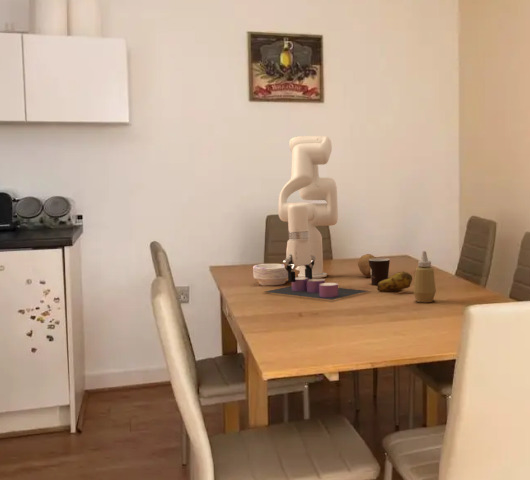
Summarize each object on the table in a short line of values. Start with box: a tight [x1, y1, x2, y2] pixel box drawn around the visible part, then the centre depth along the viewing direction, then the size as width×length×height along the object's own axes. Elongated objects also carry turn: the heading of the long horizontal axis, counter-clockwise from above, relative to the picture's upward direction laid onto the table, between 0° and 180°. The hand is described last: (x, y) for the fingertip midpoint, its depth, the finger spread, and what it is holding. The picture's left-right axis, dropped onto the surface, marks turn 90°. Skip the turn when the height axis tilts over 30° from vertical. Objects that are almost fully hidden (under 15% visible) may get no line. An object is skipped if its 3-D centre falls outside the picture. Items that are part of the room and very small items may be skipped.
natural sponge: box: [357, 253, 377, 278], centre depth 336 cm, size 9×9×10 cm
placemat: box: [264, 285, 368, 301], centre depth 299 cm, size 34×22×1 cm, turn 55°
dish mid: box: [306, 278, 326, 293], centre depth 298 cm, size 7×7×4 cm
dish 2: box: [319, 282, 339, 298], centre depth 287 cm, size 7×7×4 cm
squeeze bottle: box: [413, 250, 437, 304], centre depth 275 cm, size 8×8×18 cm
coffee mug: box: [369, 257, 391, 286], centre depth 318 cm, size 12×9×10 cm
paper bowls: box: [252, 263, 288, 286], centre depth 319 cm, size 15×15×8 cm
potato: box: [377, 271, 413, 293], centre depth 296 cm, size 8×13×8 cm, turn 72°
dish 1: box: [290, 276, 310, 291], centre depth 302 cm, size 7×7×4 cm
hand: (300, 280), depth 302 cm, fingers open, 9 cm apart
